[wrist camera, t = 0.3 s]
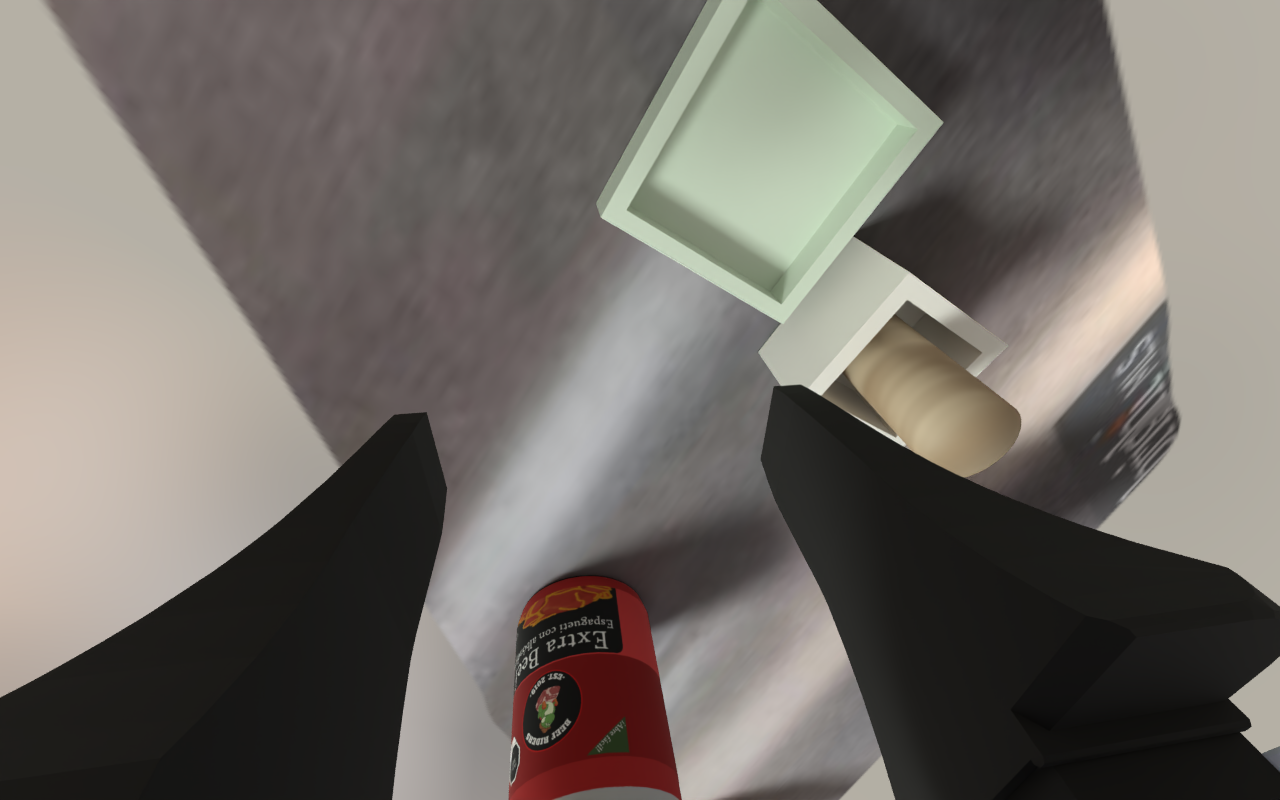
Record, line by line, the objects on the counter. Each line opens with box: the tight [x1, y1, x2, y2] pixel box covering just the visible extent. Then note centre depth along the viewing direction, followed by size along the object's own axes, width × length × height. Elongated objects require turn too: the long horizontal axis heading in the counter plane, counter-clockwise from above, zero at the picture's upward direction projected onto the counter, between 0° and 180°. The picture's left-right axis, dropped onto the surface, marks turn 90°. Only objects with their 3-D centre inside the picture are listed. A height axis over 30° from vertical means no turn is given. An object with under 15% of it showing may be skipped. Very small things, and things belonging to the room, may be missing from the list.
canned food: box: [509, 576, 682, 800], centre depth 27 cm, size 8×8×11 cm
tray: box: [596, 0, 944, 324], centre depth 18 cm, size 8×8×2 cm
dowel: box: [842, 314, 1021, 478], centre depth 19 cm, size 3×3×8 cm
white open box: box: [758, 237, 1008, 446], centre depth 21 cm, size 6×6×4 cm
